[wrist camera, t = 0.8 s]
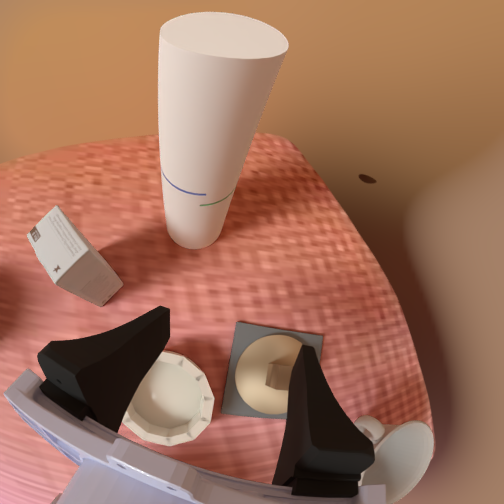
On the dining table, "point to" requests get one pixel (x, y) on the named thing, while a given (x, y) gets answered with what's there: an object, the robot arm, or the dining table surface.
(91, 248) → the skincare box
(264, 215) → the dining table surface
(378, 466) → the teacup
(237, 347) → the mat
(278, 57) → the cylindrical container
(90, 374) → the robot arm
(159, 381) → the bowl
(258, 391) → the lid
